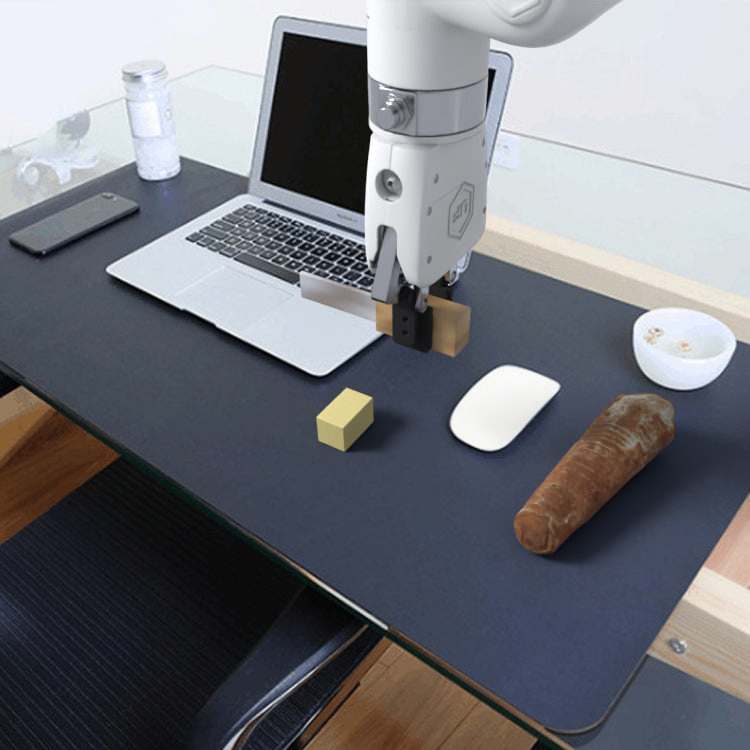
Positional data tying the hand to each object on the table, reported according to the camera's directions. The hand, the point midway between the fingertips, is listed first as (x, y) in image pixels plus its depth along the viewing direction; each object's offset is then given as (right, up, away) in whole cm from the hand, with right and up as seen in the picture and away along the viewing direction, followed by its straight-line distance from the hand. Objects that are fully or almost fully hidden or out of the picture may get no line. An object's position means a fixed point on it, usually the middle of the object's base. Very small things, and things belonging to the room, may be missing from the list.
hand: (422, 334), depth 62 cm
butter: (-6, -8, +13) cm, 17 cm away
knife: (-3, +1, +2) cm, 4 cm away
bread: (+15, -14, +6) cm, 21 cm away
